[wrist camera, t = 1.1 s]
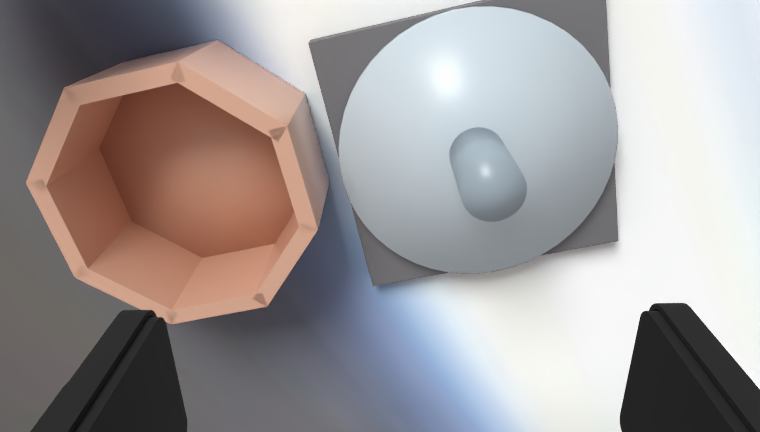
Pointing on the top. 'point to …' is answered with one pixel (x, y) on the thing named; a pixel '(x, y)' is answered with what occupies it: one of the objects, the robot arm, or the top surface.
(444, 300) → the top surface
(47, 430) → the robot arm
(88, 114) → the bowl
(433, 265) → the lid
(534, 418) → the top surface
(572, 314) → the top surface
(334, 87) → the mat
